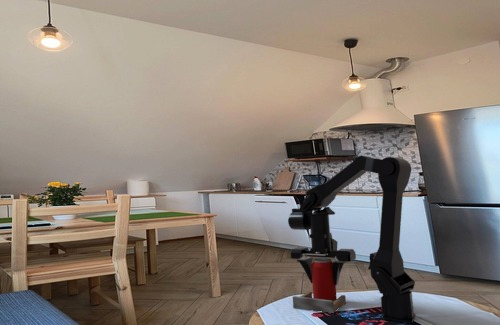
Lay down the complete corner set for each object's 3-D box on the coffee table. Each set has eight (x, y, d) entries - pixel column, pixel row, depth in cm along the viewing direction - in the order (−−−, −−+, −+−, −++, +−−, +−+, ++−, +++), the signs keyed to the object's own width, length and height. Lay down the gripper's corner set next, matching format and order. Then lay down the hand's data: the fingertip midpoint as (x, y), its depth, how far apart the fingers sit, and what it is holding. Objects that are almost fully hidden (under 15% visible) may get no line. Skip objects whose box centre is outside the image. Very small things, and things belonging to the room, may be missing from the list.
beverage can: (335, 298, 100) (332, 257, 101) (338, 304, 93) (335, 261, 95) (312, 298, 100) (309, 258, 102) (314, 305, 94) (311, 261, 95)
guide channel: (345, 302, 95) (345, 291, 95) (332, 313, 86) (331, 301, 86) (309, 298, 101) (308, 287, 101) (293, 308, 92) (292, 296, 92)
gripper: (358, 228, 101) (363, 280, 99) (302, 228, 111) (306, 276, 109) (347, 231, 92) (352, 289, 90) (287, 231, 102) (290, 283, 100)
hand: (323, 283), depth 97 cm, fingers open, 7 cm apart
